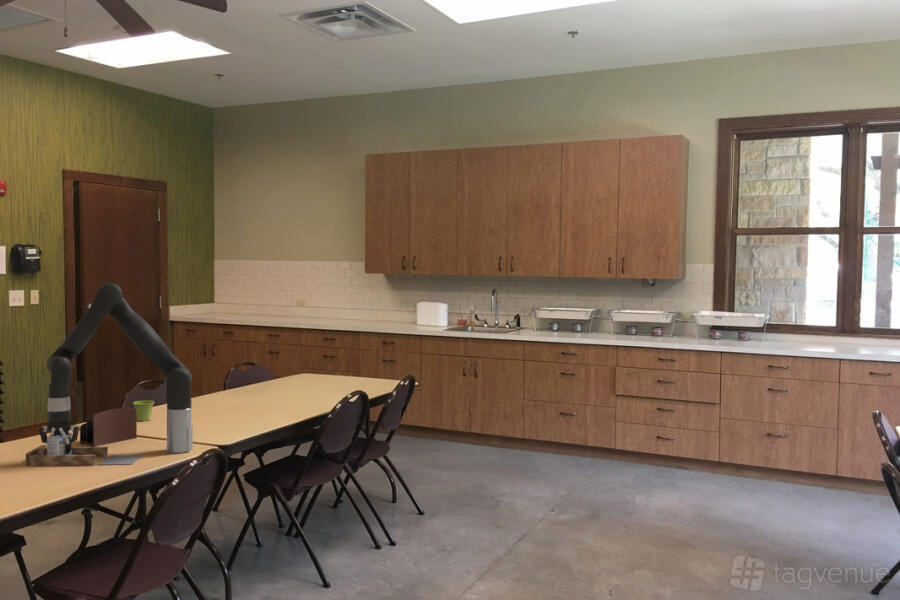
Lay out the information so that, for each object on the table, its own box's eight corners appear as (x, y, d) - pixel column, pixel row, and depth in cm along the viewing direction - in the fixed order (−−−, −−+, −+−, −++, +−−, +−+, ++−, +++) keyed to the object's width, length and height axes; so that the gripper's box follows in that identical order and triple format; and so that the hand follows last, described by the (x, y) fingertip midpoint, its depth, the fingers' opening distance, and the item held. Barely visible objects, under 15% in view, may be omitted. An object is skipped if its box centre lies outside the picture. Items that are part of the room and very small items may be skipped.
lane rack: (107, 455, 286) (107, 444, 285) (94, 465, 272) (94, 453, 271) (42, 456, 283) (42, 444, 283) (25, 465, 269) (25, 453, 269)
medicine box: (57, 460, 273) (57, 437, 272) (46, 459, 273) (46, 436, 273) (72, 455, 280) (72, 432, 280) (61, 454, 281) (61, 432, 281)
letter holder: (137, 438, 316) (137, 405, 315) (93, 447, 299) (93, 412, 298) (122, 435, 321) (123, 403, 321) (79, 443, 304) (79, 409, 304)
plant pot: (150, 417, 359) (150, 399, 359) (157, 420, 352) (157, 402, 351) (130, 419, 353) (130, 401, 353) (136, 423, 346) (136, 404, 345)
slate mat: (142, 455, 287) (142, 454, 287) (131, 464, 273) (131, 463, 273) (110, 455, 286) (110, 454, 286) (97, 465, 272) (97, 464, 272)
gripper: (83, 406, 281) (83, 450, 281) (43, 407, 279) (43, 451, 280) (75, 410, 273) (75, 455, 274) (34, 410, 272) (34, 456, 272)
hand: (59, 453), depth 277 cm, fingers closed on medicine box, 5 cm apart
